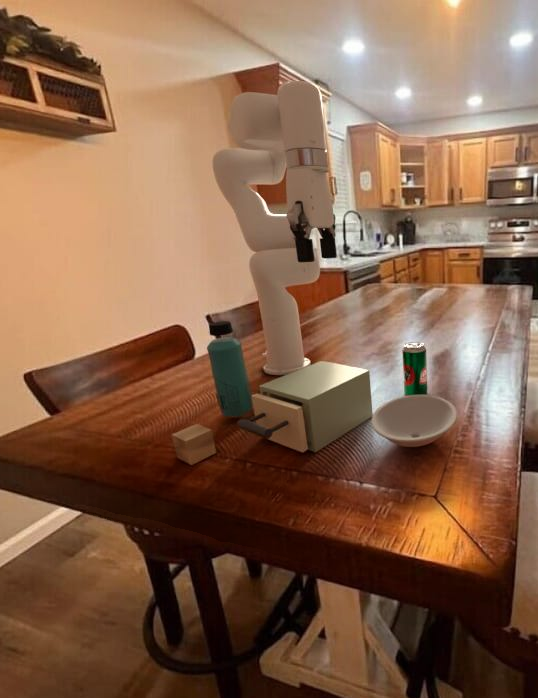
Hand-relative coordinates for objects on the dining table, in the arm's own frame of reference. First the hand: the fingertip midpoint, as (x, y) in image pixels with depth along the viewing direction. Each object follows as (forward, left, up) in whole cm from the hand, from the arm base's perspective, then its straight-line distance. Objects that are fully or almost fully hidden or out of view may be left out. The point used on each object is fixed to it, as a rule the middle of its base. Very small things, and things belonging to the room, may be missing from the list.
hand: (318, 259), depth 79 cm
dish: (+25, -5, -30) cm, 40 cm away
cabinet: (+6, -9, -30) cm, 32 cm away
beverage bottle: (-12, -15, -30) cm, 36 cm away
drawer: (+6, -15, -29) cm, 33 cm away
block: (-5, -28, -30) cm, 42 cm away
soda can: (+15, +11, -30) cm, 35 cm away
